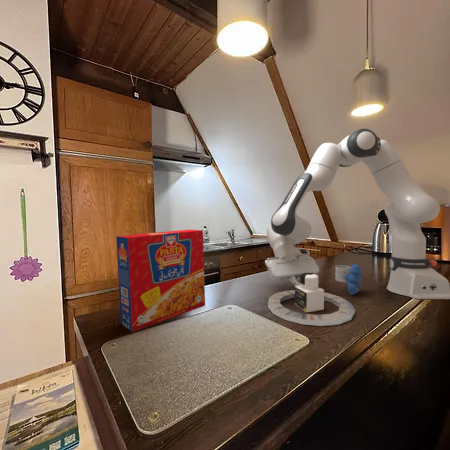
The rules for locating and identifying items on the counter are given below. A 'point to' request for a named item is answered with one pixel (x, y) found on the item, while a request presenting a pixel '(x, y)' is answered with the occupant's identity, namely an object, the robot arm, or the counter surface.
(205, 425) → the counter surface
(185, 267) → the pasta box
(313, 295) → the medicine bottle
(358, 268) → the grapes
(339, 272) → the mug
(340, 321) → the turntable ring
